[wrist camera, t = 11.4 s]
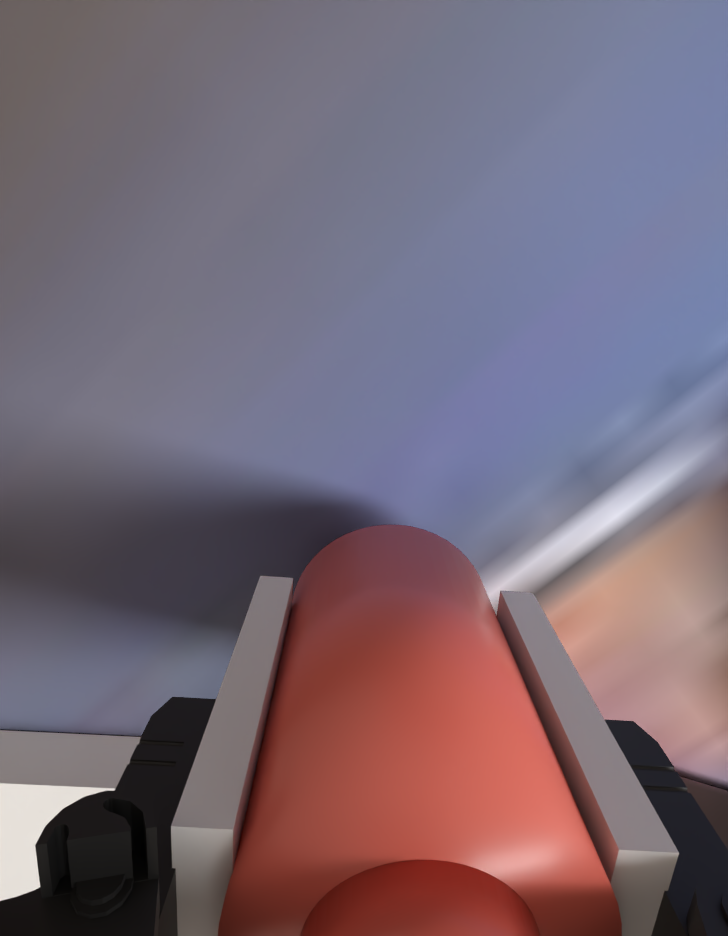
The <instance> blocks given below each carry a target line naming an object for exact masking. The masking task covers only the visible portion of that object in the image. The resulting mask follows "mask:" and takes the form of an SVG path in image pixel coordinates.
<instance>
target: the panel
mask: <svg viewBox="0 0 728 936" xmlns="http://www.w3.org/2000/svg"><path fill="white" fill-rule="evenodd" d="M140 738H141V737H129V736H109V735H88V734H68V733H47V732H26V731H6V730H0V901H2V900H5V899H9V898H13V897H17V896H20V895H22V894H25V893H28V892H31V891H34V890H36V889H38V888H39V887H40V881H39V873H38V865H37V856H36V848H35V845H36V843H37V841H38V839H39V837H40V835H41V833H42V831H43V830H44V828H45V826H46V825H47V824H48V823H49V822H50V821H51V820H52V819H53V818H54V817H55V816H56V815H57V814H58V813H59V812H60V811H61V810H62V809H63V808H65V807H67V806H69V805H70V804H72V803H74V802H76V801H77V800H79V799H81V798H83V797H85V796H88V795H92V794H96V793H99V792H103V791H115V789H116V787H117V785H118V783H119V781H120V779H121V777H122V775H123V773H124V770H125V768H126V766H127V764H129V763H130V758H131V756H132V754H133V752H134V750H135V748H136V746H137V744H139V742H140Z"/></svg>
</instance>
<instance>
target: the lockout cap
mask: <svg viewBox="0 0 728 936" xmlns="http://www.w3.org/2000/svg"><path fill="white" fill-rule="evenodd" d="M218 936H622V922H621V917H620V912H619V906H618V903H617V900H616V897H615V895H614V892H613V889H612V887H611V884H610V882H609V879H608V877H607V875H606V872H605V870H604V868H603V865H602V863H601V861H600V858H599V856H598V854H597V851H596V849H595V847H594V844H593V842H592V840H591V837H590V835H589V833H588V830H587V828H586V825H585V823H584V821H583V818H582V816H581V814H580V811H579V809H578V807H577V804H576V802H575V800H574V797H573V795H572V793H571V790H570V788H569V786H568V783H567V781H566V779H565V776H564V774H563V771H562V769H561V767H560V764H559V762H558V760H557V757H556V755H555V753H554V750H553V748H552V746H551V743H550V741H549V739H548V736H547V734H546V732H545V729H544V727H543V724H542V722H541V720H540V717H539V715H538V713H537V710H536V708H535V706H534V703H533V701H532V699H531V696H530V694H529V692H528V689H527V687H526V685H525V682H524V680H523V678H522V675H521V673H520V670H519V668H518V666H517V663H516V661H515V659H514V656H513V654H512V652H511V649H510V647H509V645H508V642H507V640H506V638H505V635H504V633H503V631H502V628H501V626H500V623H499V621H498V619H497V616H496V614H495V612H494V609H493V607H492V605H491V602H490V600H489V598H488V595H487V593H486V591H485V588H484V586H483V584H482V581H481V579H480V577H479V575H478V573H477V571H476V570H475V568H474V566H473V565H472V564H471V562H470V561H469V560H468V558H467V557H466V556H465V555H464V554H463V553H462V552H461V551H460V550H459V549H458V548H456V547H455V546H454V545H452V544H451V543H450V542H448V541H447V540H445V539H443V538H441V537H440V536H438V535H436V534H433V533H431V532H428V531H426V530H423V529H419V528H415V527H411V526H403V525H378V526H370V527H366V528H362V529H358V530H355V531H353V532H350V533H348V534H345V535H343V536H341V537H340V538H338V539H336V540H334V541H333V542H331V543H330V544H328V545H327V546H326V547H324V548H323V549H322V550H321V551H320V552H319V553H318V554H316V555H315V556H314V558H313V559H312V560H311V561H310V562H309V564H308V565H307V566H306V568H305V569H304V571H303V573H302V574H301V576H300V578H299V580H298V583H297V585H296V587H295V591H294V595H293V599H292V609H291V614H290V618H289V623H288V627H287V632H286V636H285V641H284V645H283V650H282V654H281V659H280V663H279V668H278V672H277V677H276V681H275V685H274V690H273V694H272V699H271V703H270V708H269V712H268V717H267V721H266V726H265V730H264V735H263V739H262V744H261V748H260V752H259V757H258V761H257V766H256V770H255V775H254V779H253V784H252V788H251V793H250V797H249V802H248V806H247V811H246V815H245V820H244V824H243V828H242V833H241V837H240V842H239V846H238V851H237V855H236V860H235V864H234V869H233V873H232V875H231V877H230V880H229V884H228V888H227V891H226V895H225V899H224V903H223V908H222V912H221V917H220V921H219V928H218Z"/></svg>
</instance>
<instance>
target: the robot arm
mask: <svg viewBox="0 0 728 936" xmlns="http://www.w3.org/2000/svg"><path fill="white" fill-rule="evenodd" d="M292 597H293V578H287V577H271V576H260V578H259V581H258V584H257V586H256V589H255V592H254V595H253V598H252V600H251V603H250V606H249V609H248V612H247V614H246V617H245V620H244V623H243V626H242V628H241V631H240V634H239V637H238V640H237V642H236V645H235V648H234V651H233V654H232V656H231V659H230V662H229V665H228V668H227V670H226V673H225V676H224V679H223V682H222V684H221V687H220V690H219V693H218V696H217V698H216V699H201V698H184V697H172V698H171V699H170V700H169V701H168V702H166V703H165V704H164V705H163V706H162V707H161V708H160V709H159V710H158V711H157V712H155V713H154V714H153V715H152V716H151V718H150V720H149V722H148V724H147V726H146V728H145V730H144V732H143V734H142V736H141V738H140V742H139V744H137V746H136V748H135V750H134V752H133V754H132V756H131V758H130V763H129V764H127V766H126V768H125V770H124V773H123V775H122V777H121V779H120V781H119V783H118V785H117V787H116V789H115V791H103V792H99V793H96V794H92V795H88V796H85V797H83V798H81V799H79V800H77V801H76V802H74V803H72V804H70V805H69V806H67V807H65V808H63V809H62V810H61V811H60V812H59V813H58V814H57V815H56V816H55V817H54V818H53V819H52V820H51V821H50V822H49V823H48V824H47V825H46V826H45V828H44V830H43V831H42V833H41V835H40V837H39V839H38V841H37V843H36V845H35V848H36V856H37V865H38V873H39V881H40V887H39V888H38V889H36V890H34V891H31V892H28V893H25V894H22V895H20V896H17V897H13V898H9V899H5V900H2V901H0V936H218V928H219V921H220V917H221V912H222V908H223V903H224V899H225V895H226V891H227V888H228V884H229V880H230V877H231V875H232V873H233V869H234V864H235V860H236V855H237V851H238V846H239V842H240V837H241V833H242V828H243V824H244V820H245V815H246V811H247V806H248V802H249V797H250V793H251V788H252V784H253V779H254V775H255V770H256V766H257V761H258V757H259V752H260V748H261V744H262V739H263V735H264V730H265V726H266V721H267V717H268V712H269V708H270V703H271V699H272V694H273V690H274V685H275V681H276V677H277V672H278V668H279V663H280V659H281V654H282V650H283V645H284V641H285V636H286V632H287V627H288V623H289V618H290V614H291V609H292ZM497 619H498V621H499V623H500V626H501V628H502V631H503V633H504V635H505V638H506V640H507V642H508V645H509V647H510V649H511V652H512V654H513V656H514V659H515V661H516V663H517V666H518V668H519V670H520V673H521V675H522V678H523V680H524V682H525V685H526V687H527V689H528V692H529V694H530V696H531V699H532V701H533V703H534V706H535V708H536V710H537V713H538V715H539V717H540V720H541V722H542V724H543V727H544V729H545V732H546V734H547V736H548V739H549V741H550V743H551V746H552V748H553V750H554V753H555V755H556V757H557V760H558V762H559V764H560V767H561V769H562V771H563V774H564V776H565V779H566V781H567V783H568V786H569V788H570V790H571V793H572V795H573V797H574V800H575V802H576V804H577V807H578V809H579V811H580V814H581V816H582V818H583V821H584V823H585V825H586V828H587V830H588V833H589V835H590V837H591V840H592V842H593V844H594V847H595V849H596V851H597V854H598V856H599V858H600V861H601V863H602V865H603V868H604V870H605V872H606V875H607V877H608V879H609V882H610V884H611V887H612V889H613V892H614V895H615V897H616V900H617V903H618V906H619V912H620V917H621V922H622V936H728V849H727V848H726V846H725V845H724V843H723V842H722V840H721V839H720V837H719V836H718V834H717V833H716V831H715V829H714V828H713V826H712V825H711V823H710V822H709V820H708V819H707V817H706V816H705V814H704V813H703V811H702V810H701V808H700V806H699V805H698V803H697V802H696V800H695V799H694V797H693V796H692V794H691V793H688V791H687V787H686V785H685V783H684V782H683V780H682V779H681V777H680V776H679V774H678V773H677V772H674V767H673V765H672V764H671V762H670V760H669V759H668V757H667V756H666V754H665V753H664V751H663V750H662V748H661V747H660V745H659V744H658V742H657V741H655V740H654V739H653V738H652V737H651V736H650V735H648V734H647V733H646V732H645V731H644V730H643V729H642V728H640V727H639V726H638V725H637V724H636V723H635V722H634V721H619V720H604V718H603V717H602V715H601V713H600V711H599V709H598V708H597V706H596V704H595V702H594V701H593V699H592V697H591V695H590V693H589V692H588V690H587V688H586V686H585V685H584V683H583V681H582V679H581V677H580V676H579V674H578V672H577V670H576V669H575V667H574V665H573V663H572V661H571V660H570V658H569V656H568V654H567V653H566V651H565V649H564V647H563V645H562V644H561V642H560V640H559V638H558V636H557V635H556V633H555V631H554V629H553V628H552V626H551V624H550V622H549V620H548V619H547V617H546V615H545V613H544V612H543V610H542V608H541V606H540V604H539V603H538V601H537V599H536V597H535V596H534V594H533V593H529V592H513V591H500V598H499V604H498V611H497Z"/></svg>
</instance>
